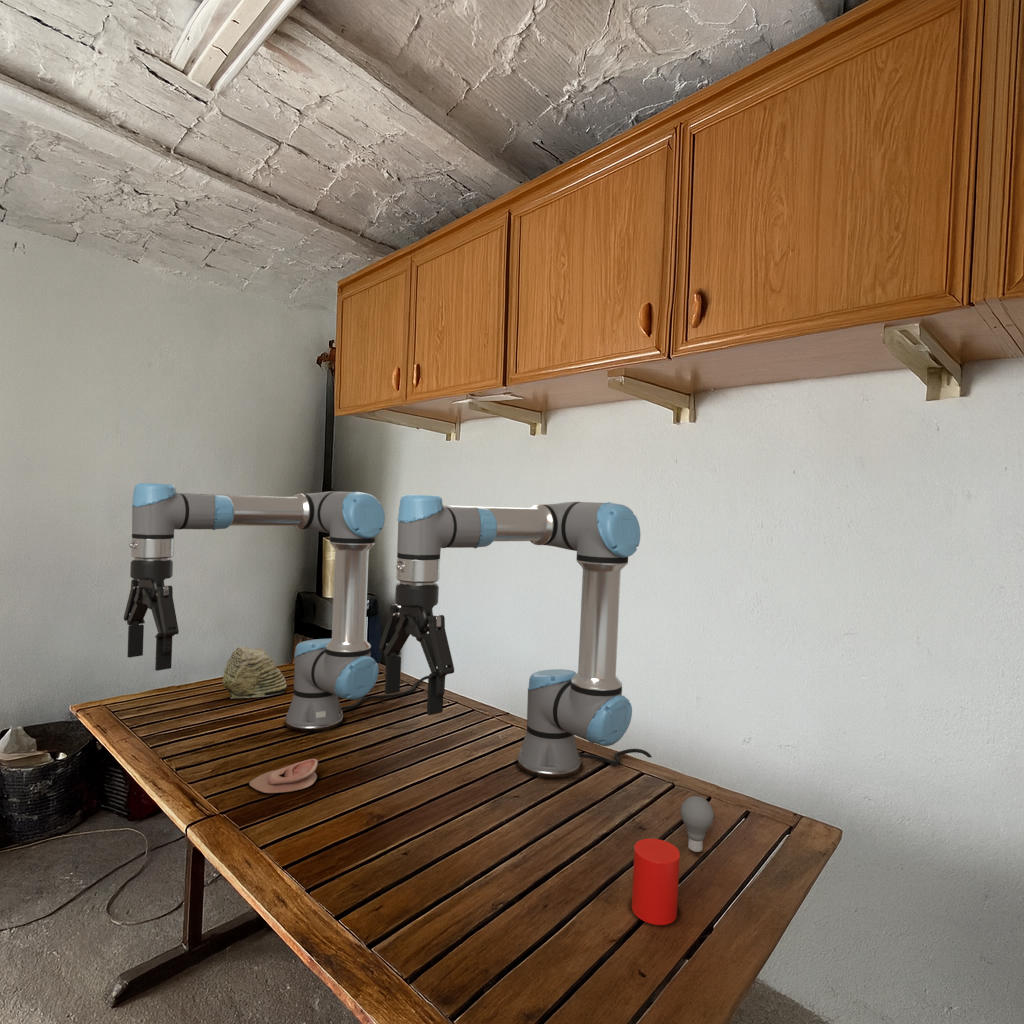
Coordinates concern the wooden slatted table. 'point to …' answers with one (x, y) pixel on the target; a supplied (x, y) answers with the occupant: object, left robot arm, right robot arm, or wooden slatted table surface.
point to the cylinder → (655, 881)
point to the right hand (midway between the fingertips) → (412, 702)
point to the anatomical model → (287, 778)
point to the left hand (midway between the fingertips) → (148, 662)
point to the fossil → (252, 674)
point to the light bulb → (696, 820)
